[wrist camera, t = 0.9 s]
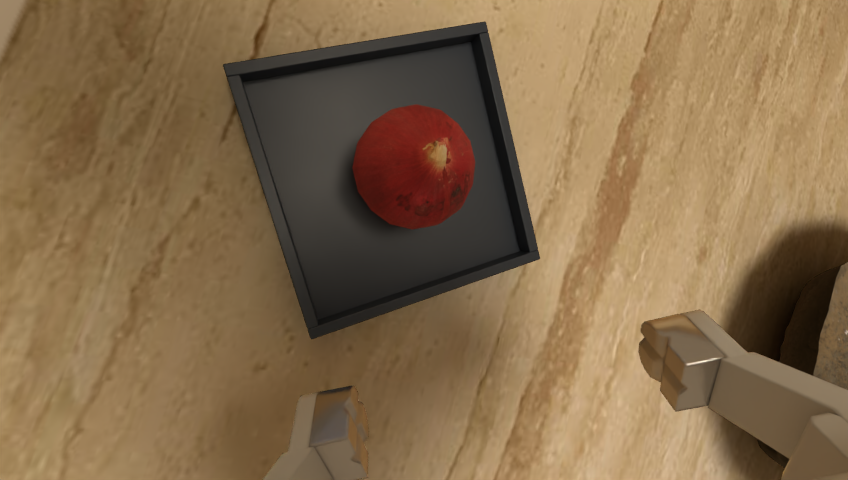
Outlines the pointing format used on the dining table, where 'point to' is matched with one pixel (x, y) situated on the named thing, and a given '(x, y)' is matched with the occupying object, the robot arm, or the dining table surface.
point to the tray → (335, 183)
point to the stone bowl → (818, 334)
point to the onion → (414, 166)
